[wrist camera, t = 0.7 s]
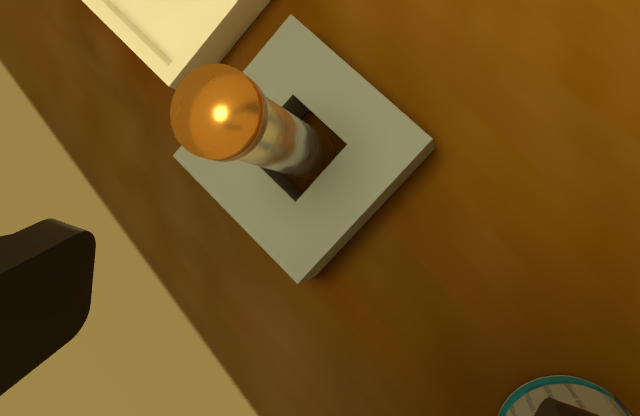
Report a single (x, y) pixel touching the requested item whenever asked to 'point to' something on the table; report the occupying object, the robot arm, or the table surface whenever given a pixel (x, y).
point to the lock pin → (244, 124)
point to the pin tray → (178, 30)
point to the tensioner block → (340, 175)
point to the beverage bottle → (562, 397)
